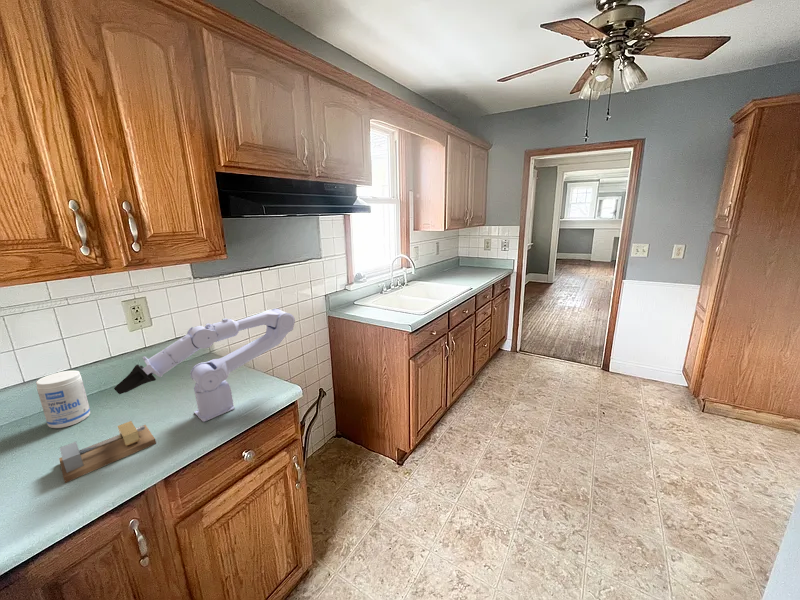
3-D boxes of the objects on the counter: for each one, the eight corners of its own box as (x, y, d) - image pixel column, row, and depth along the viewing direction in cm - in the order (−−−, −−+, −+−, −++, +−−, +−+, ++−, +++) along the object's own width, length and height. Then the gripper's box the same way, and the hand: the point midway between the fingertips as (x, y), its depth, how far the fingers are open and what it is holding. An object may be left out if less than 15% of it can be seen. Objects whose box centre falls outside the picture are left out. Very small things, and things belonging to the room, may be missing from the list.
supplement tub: (55, 433, 96) (40, 387, 92) (43, 424, 100) (28, 380, 97) (97, 415, 104) (85, 373, 100) (84, 408, 109) (72, 367, 105)
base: (146, 428, 97) (142, 414, 96) (156, 443, 91) (152, 427, 90) (60, 463, 84) (55, 446, 83) (65, 483, 78) (59, 465, 76)
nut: (133, 430, 94) (131, 420, 93) (139, 440, 89) (137, 430, 88) (120, 435, 91) (117, 425, 91) (125, 446, 87) (123, 436, 86)
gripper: (162, 347, 100) (114, 378, 93) (158, 344, 88) (102, 379, 80) (179, 365, 101) (132, 397, 94) (177, 364, 89) (123, 401, 82)
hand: (119, 390), depth 87 cm, fingers open, 7 cm apart
